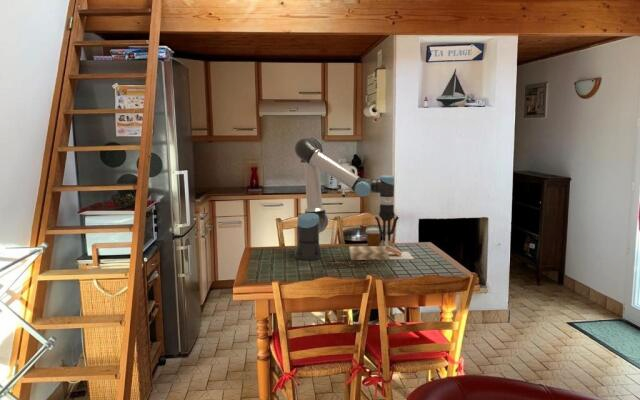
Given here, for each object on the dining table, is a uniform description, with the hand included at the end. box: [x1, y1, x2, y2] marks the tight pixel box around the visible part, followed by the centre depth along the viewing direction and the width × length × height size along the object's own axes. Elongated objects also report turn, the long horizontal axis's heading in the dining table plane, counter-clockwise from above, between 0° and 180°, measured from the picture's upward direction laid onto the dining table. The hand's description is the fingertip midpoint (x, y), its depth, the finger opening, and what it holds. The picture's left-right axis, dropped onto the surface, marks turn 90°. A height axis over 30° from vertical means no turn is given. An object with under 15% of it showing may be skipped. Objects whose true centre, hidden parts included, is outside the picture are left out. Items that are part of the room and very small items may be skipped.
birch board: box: [348, 245, 390, 261], centre depth 264 cm, size 20×14×4 cm
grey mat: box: [388, 251, 415, 261], centre depth 265 cm, size 13×15×1 cm
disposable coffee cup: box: [365, 227, 382, 246], centre depth 281 cm, size 10×10×12 cm
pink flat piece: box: [385, 244, 402, 256], centre depth 265 cm, size 8×6×2 cm
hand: (386, 246), depth 264 cm, fingers closed
